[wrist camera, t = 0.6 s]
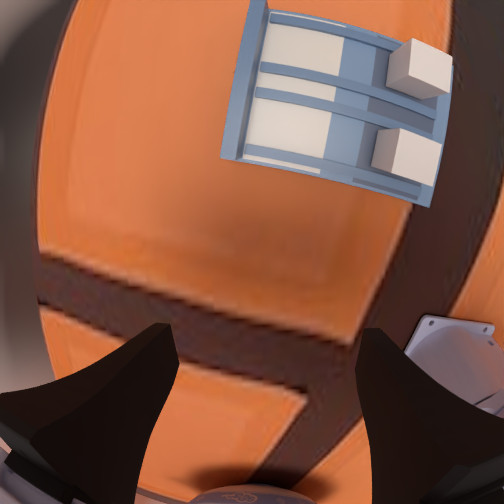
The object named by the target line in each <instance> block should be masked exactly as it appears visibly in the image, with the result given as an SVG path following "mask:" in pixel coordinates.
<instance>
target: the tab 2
mask: <svg viewBox="0 0 504 504" xmlns="http://www.w3.org/2000/svg"><path fill="white" fill-rule="evenodd" d="M441 147H442V144H440V143H437V142H435V141H432V140H430V139H427V138H425V137H422V136H420V135H417V134H415V133H412V132H409V131H407V130H404V129H401V128H397V129H385V130H378V134H377V139H376V144H375V149H374V154H373V158H372V163H371V166H372V167H375V168H378V169H381V170H384V171H387V172H390V173H393V174H396V175H399V176H403V177H406V178H409V179H412V180H415V181H418V182H420V183H423V184H426V185H429V186H432V187H433V183H434V179H435V175H436V171H437V166H438V161H439V157H440V152H441Z"/></svg>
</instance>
